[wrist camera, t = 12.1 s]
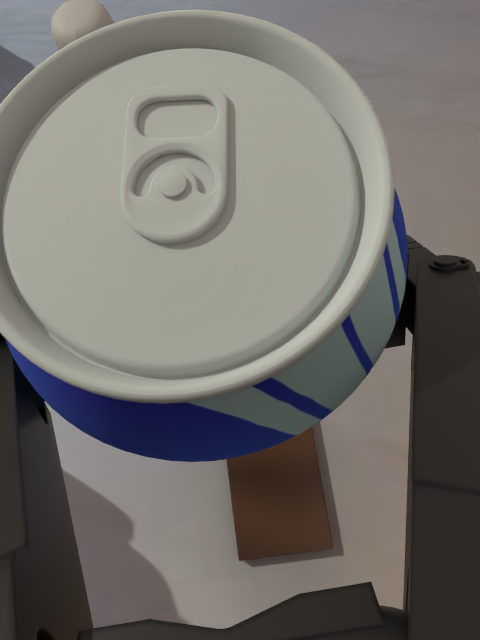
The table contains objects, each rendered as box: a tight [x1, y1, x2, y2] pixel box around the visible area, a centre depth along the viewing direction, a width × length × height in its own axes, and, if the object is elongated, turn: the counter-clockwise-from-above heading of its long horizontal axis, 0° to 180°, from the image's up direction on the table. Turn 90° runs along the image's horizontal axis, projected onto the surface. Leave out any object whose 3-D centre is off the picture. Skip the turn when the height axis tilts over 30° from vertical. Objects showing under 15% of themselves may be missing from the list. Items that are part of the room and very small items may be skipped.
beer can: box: [0, 10, 408, 462], centre depth 14 cm, size 8×8×16 cm
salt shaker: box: [51, 0, 114, 50], centre depth 34 cm, size 6×6×13 cm
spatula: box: [227, 427, 333, 561], centre depth 32 cm, size 24×7×2 cm, turn 8°
